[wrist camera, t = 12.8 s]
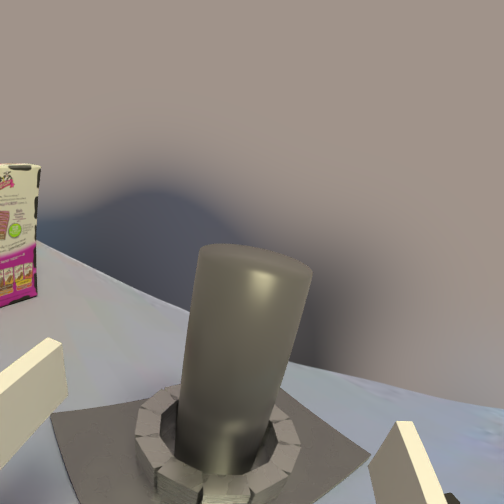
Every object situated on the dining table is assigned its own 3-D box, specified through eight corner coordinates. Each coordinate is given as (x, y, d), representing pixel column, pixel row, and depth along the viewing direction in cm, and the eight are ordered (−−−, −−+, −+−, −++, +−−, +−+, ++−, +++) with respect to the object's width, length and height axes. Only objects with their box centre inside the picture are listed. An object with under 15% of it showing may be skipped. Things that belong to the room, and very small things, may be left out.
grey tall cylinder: (249, 491, 16) (318, 291, 13) (164, 470, 16) (184, 261, 13) (258, 424, 22) (307, 253, 19) (190, 408, 23) (218, 234, 19)
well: (51, 418, 17) (44, 388, 17) (257, 375, 30) (264, 349, 30) (128, 589, 7) (120, 578, 6) (368, 459, 20) (384, 433, 19)
